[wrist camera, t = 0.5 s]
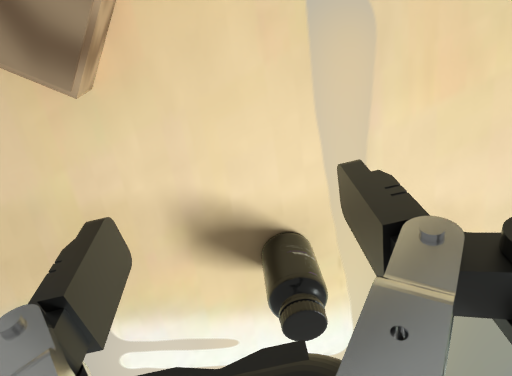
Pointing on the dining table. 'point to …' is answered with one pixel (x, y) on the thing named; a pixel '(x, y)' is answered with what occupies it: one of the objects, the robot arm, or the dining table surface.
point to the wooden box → (54, 41)
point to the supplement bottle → (295, 286)
